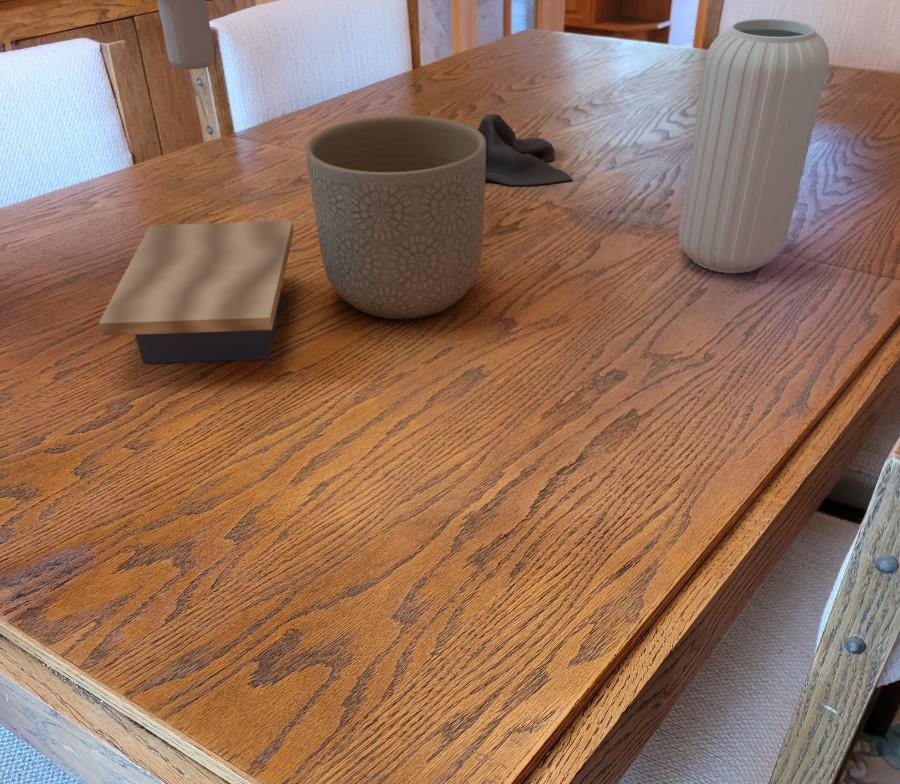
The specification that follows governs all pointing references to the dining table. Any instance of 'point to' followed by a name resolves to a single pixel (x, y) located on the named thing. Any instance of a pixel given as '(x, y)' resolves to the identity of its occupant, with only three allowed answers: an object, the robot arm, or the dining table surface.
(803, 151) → the vase
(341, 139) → the planter
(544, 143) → the cloth
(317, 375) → the dining table surface
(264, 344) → the crate
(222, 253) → the board
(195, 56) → the beverage can
